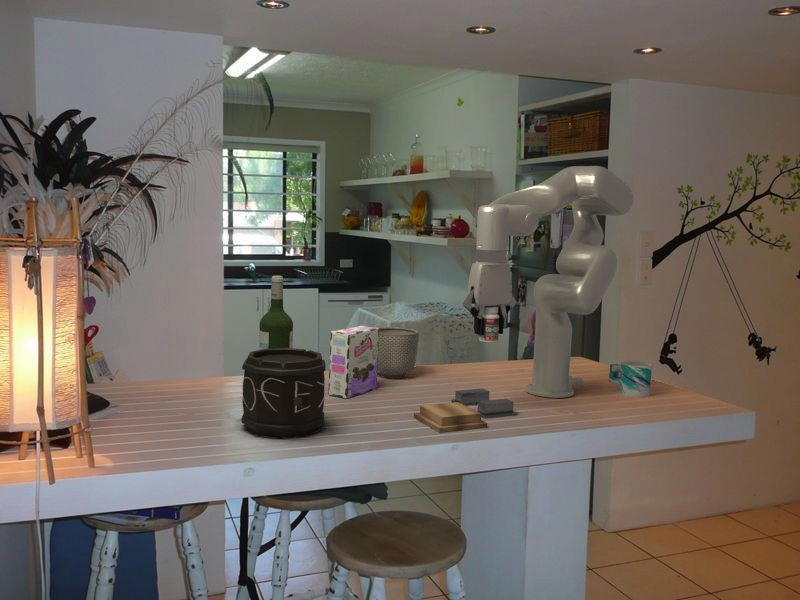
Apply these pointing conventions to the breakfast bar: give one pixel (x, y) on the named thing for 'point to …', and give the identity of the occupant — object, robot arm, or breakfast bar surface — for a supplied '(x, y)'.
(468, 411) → the tan square pedestal
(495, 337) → the pill bottle
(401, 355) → the planter
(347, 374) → the candy box
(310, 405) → the wooden barrel
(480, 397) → the clamp jaws
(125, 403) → the breakfast bar surface
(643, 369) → the mug
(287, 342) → the wine bottle
